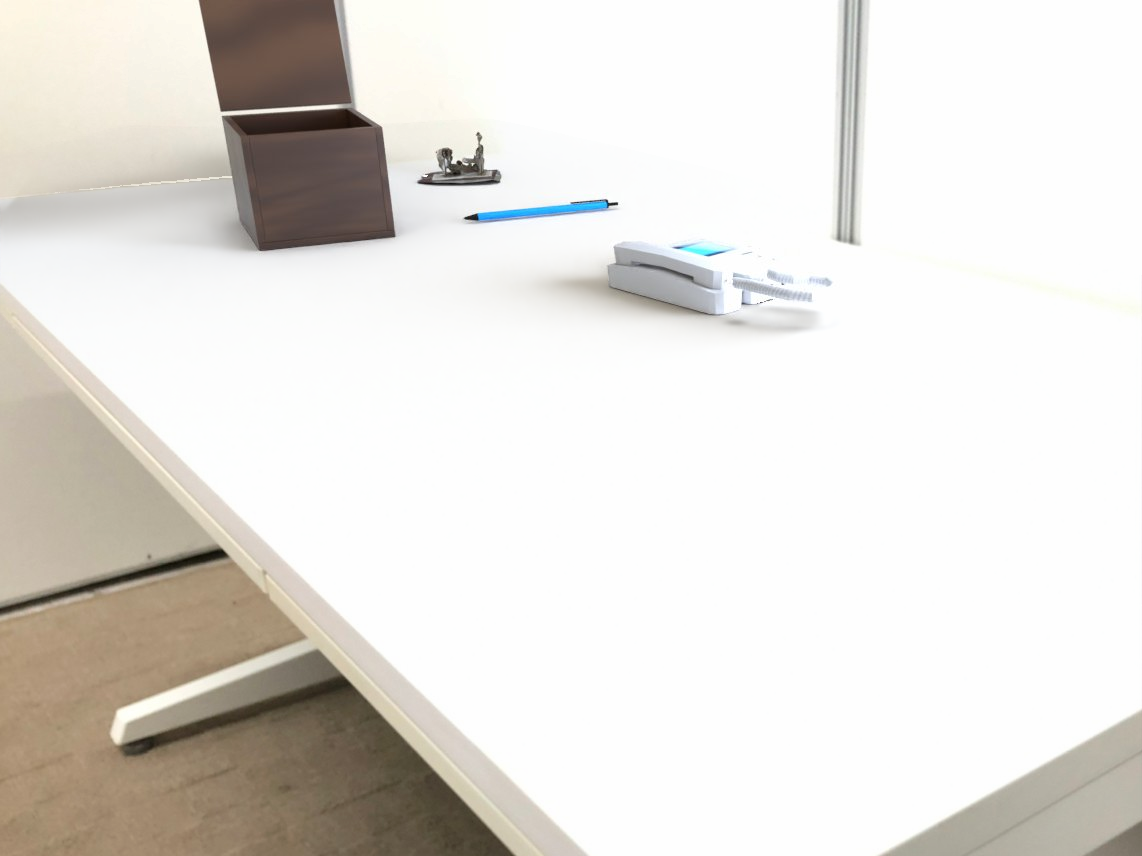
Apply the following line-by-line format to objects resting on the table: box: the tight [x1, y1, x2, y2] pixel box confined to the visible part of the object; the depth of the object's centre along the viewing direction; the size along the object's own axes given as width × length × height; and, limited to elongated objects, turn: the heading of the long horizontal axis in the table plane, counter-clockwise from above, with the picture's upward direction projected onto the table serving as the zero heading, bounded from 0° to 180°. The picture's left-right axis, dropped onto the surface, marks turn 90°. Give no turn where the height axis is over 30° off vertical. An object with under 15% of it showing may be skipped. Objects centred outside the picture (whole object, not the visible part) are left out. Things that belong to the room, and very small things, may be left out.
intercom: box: [606, 238, 841, 316], centre depth 122 cm, size 13×4×25 cm
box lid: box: [198, 0, 353, 113], centre depth 149 cm, size 17×15×1 cm
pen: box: [462, 198, 619, 222], centre depth 155 cm, size 1×19×1 cm, turn 115°
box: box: [221, 106, 396, 251], centre depth 147 cm, size 17×15×12 cm
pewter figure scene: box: [417, 131, 502, 184], centre depth 175 cm, size 12×6×11 cm
